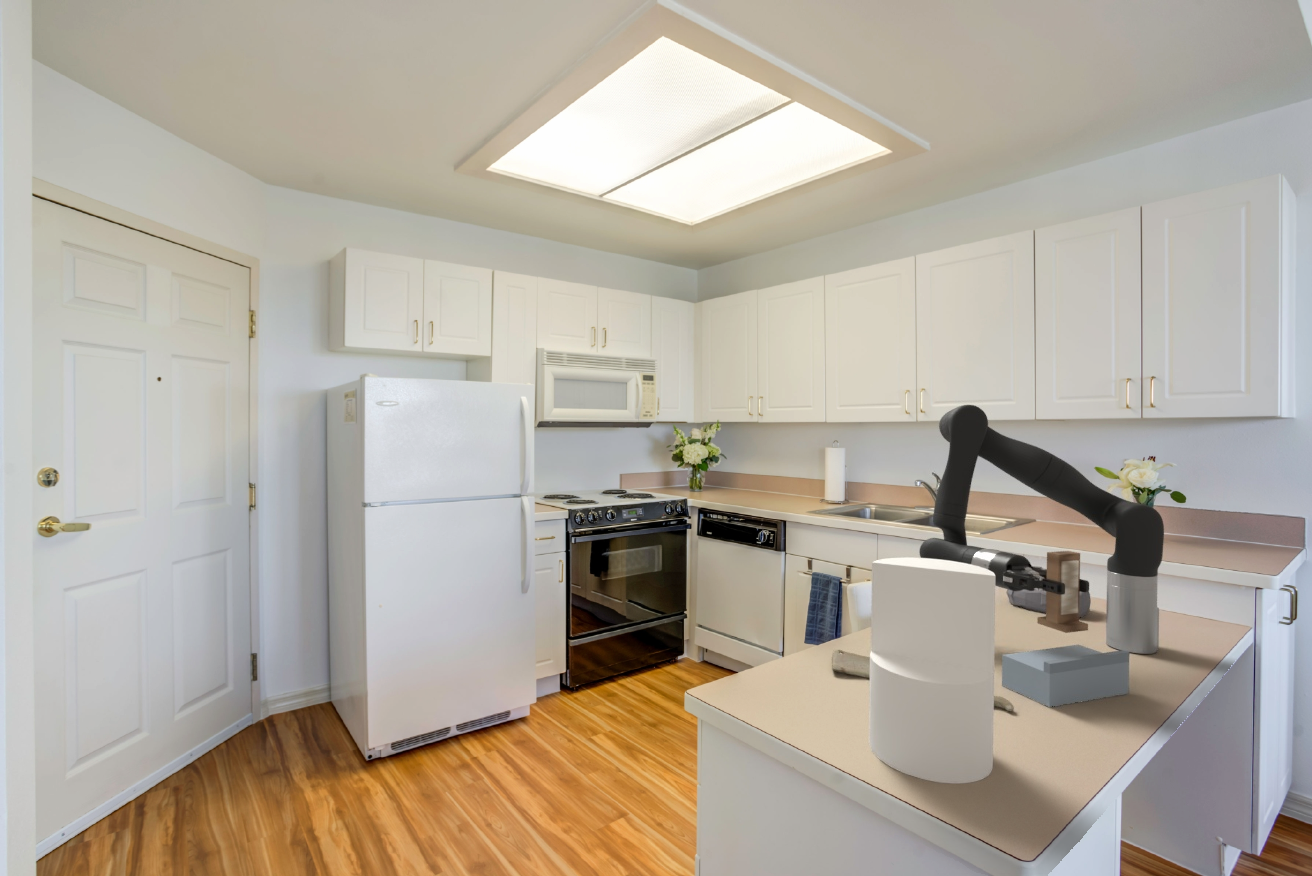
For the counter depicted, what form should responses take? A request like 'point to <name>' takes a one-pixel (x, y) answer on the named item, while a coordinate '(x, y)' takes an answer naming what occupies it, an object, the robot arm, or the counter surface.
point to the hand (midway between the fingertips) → (1075, 588)
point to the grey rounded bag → (1043, 600)
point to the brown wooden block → (1063, 607)
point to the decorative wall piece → (861, 667)
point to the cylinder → (932, 668)
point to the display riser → (1066, 674)
